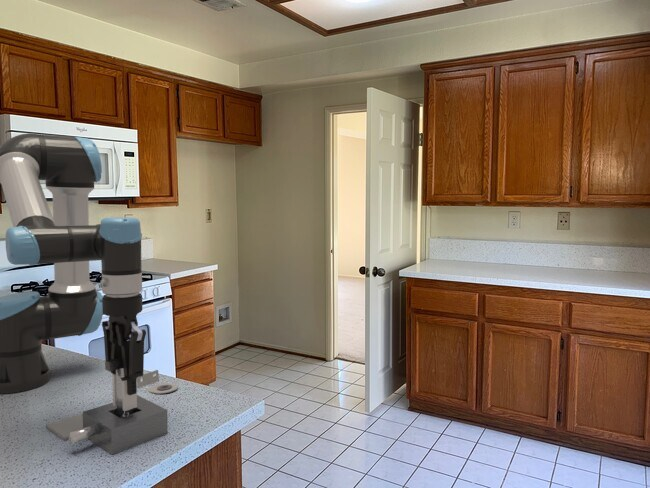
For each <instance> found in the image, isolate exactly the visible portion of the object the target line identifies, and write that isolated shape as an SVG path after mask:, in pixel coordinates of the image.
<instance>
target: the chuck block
mask: <svg viewBox="0 0 650 488" xmlns="http://www.w3.org/2000/svg"><path fill="white" fill-rule="evenodd" d="M133 411H134V413H133V414H130V415H127V416H124V417H121V418H119V417H117V406H114V405H113V402H110V403H107V404H106V403H105V404H104V405H100V406H97V407H94V408H90V409H86V410H84V411H82V413H83V428H82V429H79V430H76V431H73V432H70V433H69V435H68V438H69V439H68V441H69V443H70V444H73V443H77V442H81V441H83V440H86V439H88V440H90V441H91V442H92V443H94V444H95V445H96V446H99V447H100V448H101V449H103V450H104V451H106V452H107V453H109V454H110V455H115V454H117V453H120V452H122V451H125V450H128V449H131V448H133V447H136V446H138V445H141V444H143V443H146V442H149V441H151V440H153V439H156V438H158V437H161V436H164V435H165V434H168V429H169V427H168V426H169V425H168V409H167V408H164V407H162V406H160V405H158V404H156V403H154V402H152V401H150V400H148V399H146V398H144V397H142V396H140V395H138V394H137V407H136V408H133Z"/></svg>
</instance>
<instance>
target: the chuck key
mask: <svg viewBox="0 0 650 488" xmlns="http://www.w3.org/2000/svg"><path fill="white" fill-rule="evenodd" d="M104 365H105V367H104V370H106V371H108V372H110V371H113V370H116V399H117V417H119V418H121V417H124V416H127V415H130V414H133V413H134V411H133V409H130V410H127V411H123V403H122V380H121V378H122V377H124V368H123V359H122V357H118V358H114V359H110V360H106V359H105V360H104Z"/></svg>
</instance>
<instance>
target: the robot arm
mask: <svg viewBox="0 0 650 488" xmlns="http://www.w3.org/2000/svg"><path fill="white" fill-rule="evenodd" d="M102 167H103V166H102V159H101V156H100V152H99V149H98V147H97V145H96V143H95V142H94V141H93V140H92V139H89V138H86V137H79V136H69V135H57V134H55V135H54V134H39V133H30V132H29V133H23V134H18V135H14V136H13V137H10V138H8V139H7V140H5V141H4V142H3V143H2V144H0V185H1V186H2V190H3V194H4V197H5V201H6V206H7V209H8V212H9V216H10V220H11V223H12V227H11V226H10V227H9V228H7V229H6V231H5V252H6V258H7V261H8V262H9V263H10V264H12V265H16V266H18V265H19V266H21V265H22V266H23V265H27V266H28V265H29V266H35V265H44V264H45V265H46V264H53V272H54V274H53V275H54V277H53V278H54V282H53V284H51V285H50V286H49V287H48V291H47V292H48V295H45V296H44V295H43V296H41V294H40V292H38V291H20V292H16V293H11V294H6V295H3V296H0V394H12V393H20V392H25V391H29V390H33V389H36V388H38V387H41V386H43V385H45V384H47V383H48V382H49V381H50V380H51V371H50V367H49V364H48V363H47V360H46V358H45V356H44V353H43V350H42V349H43V348H42V342H43V341H47V340H54V339H55V340H56V339H61V338H68V337H69V338H70V337H75V336H76V337H81V336H83V335H87V334H92V333H95V332H96V331H97V330H98V329H99V327H100V326H102V332H103V342H104V357H105V358H104V359H105V361H106V360H110V359H114V358H118V357H122V359H123V368H124V377H122V378H121V380H122V403H123V411H127V410H130V409H133V408H136V407H137V395H138V393H137V392H138V391H137V390H138V388H137V377H140V376H143V374H144V362H145V361H144V358H145V339H146V335H147V332H146V331H147V330H146V329H140V327H139V323H138V318H137V316H138V314H141V313H142V311H143V294H141V292H143V272H142V236H143V235H142V234H143V233H142V229H141V227H142V226H141V221H140V220H139V218H137V217H127V216H126V217H125V216H124V217H122V216H119V217H118V216H116V217H115V216H111V217H104V218H102V219H101V220H100V223H98V224H95V225H94V224H92V225H91V224H90V225H89V223H90V221H89V218H90V217H89V214H90V213H89V194H90V193H91V192H92V191H94V190H95V183H98V182H100V181H101V179H102V173H103V169H102ZM41 181H45V188H46V189H47V190H48V191H49V192H50V193H51V195H52V212H51V210H50V206H49V203H48V202H47V201H48V200H47V197H46V195H45V193H44V191H43V187H42V185H41ZM93 261H100V262H101V264H100V265H101V280H100V281H99V282H100V285H101V286H102V287H101V288H102V290H101V291H102V293H101V292H100V291H98V290H96V285H95V284H93V283H92V282H91V280H90V262H93ZM102 294H104V295H102ZM103 315H105V316H108V320H104V321H102V319H103ZM109 372H110V373H111V374H112V403H113V405H114V406H117V399H116V370H113V371H109Z"/></svg>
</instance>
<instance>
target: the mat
mask: <svg viewBox="0 0 650 488" xmlns="http://www.w3.org/2000/svg"><path fill="white" fill-rule="evenodd" d="M45 426H46V427H45V428H47V429H48V430H49V431H51V432H52V433H53V434H54V435H56V436H57V437H58V438H61V439H62V440H63V441H67V440H68V441H69V438H68V435H69V433H70V432H73V431H76V430H79V429H82V428H83V412H82V413H79V414H75V415H72V416H70V417H66V418H65V417H64V418H63V419H60V420H57V421H54V422H50V423H47V424H45Z"/></svg>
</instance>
